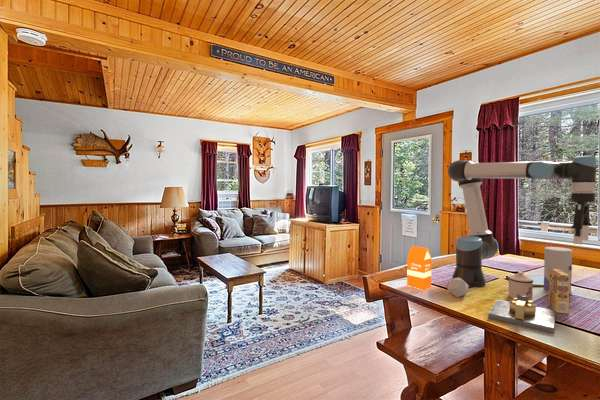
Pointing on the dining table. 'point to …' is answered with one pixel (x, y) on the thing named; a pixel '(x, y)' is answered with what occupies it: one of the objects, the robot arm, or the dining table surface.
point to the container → (557, 263)
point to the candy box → (559, 291)
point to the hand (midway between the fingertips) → (580, 242)
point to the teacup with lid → (520, 285)
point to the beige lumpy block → (522, 308)
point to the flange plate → (539, 321)
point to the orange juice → (419, 268)
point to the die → (458, 287)
